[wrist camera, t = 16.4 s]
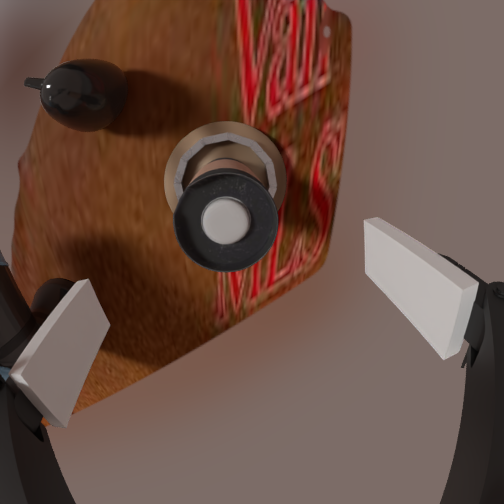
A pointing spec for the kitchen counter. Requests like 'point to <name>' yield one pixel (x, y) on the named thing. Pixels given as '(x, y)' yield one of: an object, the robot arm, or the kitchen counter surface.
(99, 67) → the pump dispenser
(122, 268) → the kitchen counter surface
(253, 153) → the carrier plate
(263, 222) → the travel mug
